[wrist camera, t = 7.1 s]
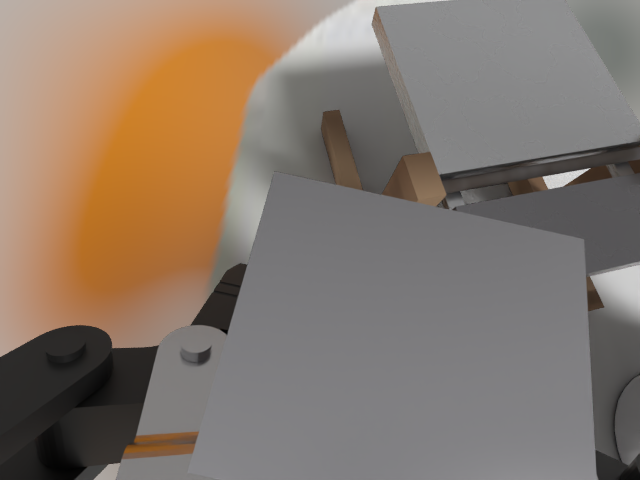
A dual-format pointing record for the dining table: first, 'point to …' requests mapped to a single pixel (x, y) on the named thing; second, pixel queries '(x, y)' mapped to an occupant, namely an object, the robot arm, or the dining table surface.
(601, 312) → the dining table surface
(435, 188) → the brown wooden frame
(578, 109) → the trapdoor plate
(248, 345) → the basalt block
